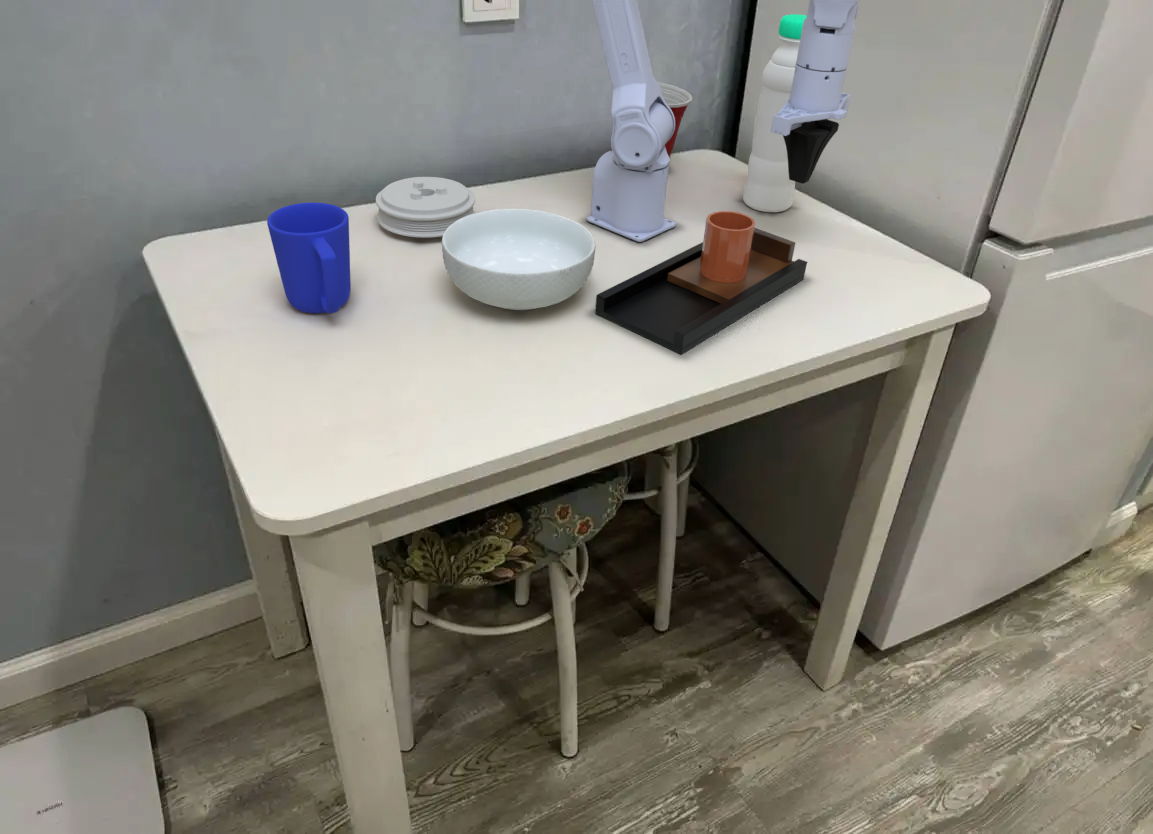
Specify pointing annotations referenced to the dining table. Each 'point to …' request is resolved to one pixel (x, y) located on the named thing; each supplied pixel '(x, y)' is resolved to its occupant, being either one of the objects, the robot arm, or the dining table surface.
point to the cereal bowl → (518, 257)
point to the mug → (312, 255)
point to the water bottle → (769, 152)
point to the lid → (423, 206)
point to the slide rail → (684, 303)
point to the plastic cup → (675, 108)
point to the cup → (727, 246)
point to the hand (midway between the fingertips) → (798, 180)
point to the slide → (763, 262)
